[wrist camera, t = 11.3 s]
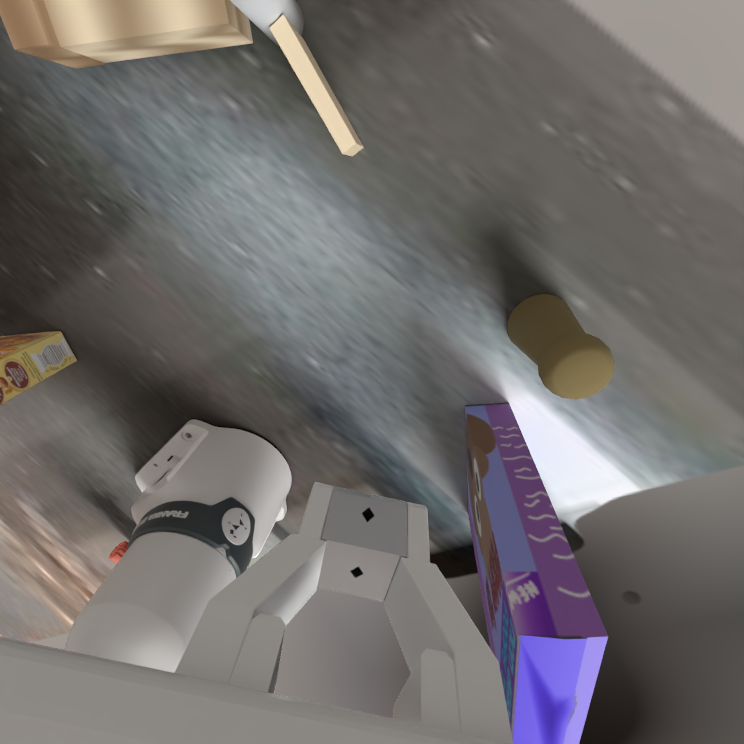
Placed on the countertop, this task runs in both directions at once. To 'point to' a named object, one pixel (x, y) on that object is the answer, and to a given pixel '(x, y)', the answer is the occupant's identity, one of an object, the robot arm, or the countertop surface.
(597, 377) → the cork
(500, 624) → the cereal box
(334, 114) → the posts
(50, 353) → the candy box
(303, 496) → the countertop surface
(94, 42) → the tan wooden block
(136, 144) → the countertop surface
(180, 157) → the countertop surface
